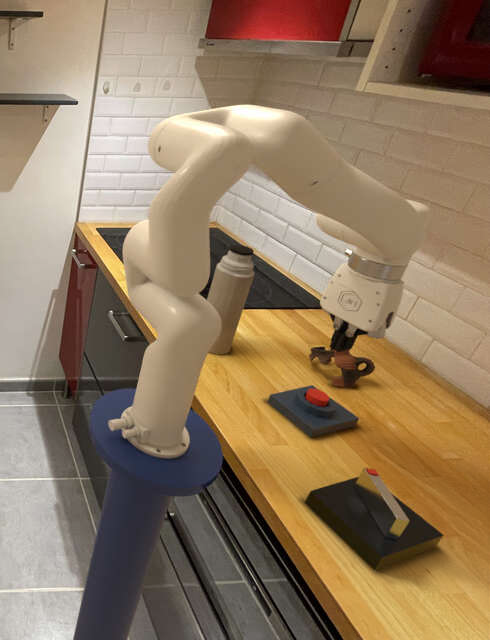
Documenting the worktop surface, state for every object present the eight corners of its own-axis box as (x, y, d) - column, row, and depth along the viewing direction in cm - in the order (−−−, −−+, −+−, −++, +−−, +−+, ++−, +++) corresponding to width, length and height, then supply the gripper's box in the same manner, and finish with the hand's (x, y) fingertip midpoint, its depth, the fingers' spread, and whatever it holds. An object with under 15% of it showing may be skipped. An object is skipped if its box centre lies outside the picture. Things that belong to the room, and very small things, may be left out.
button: (317, 408, 91) (320, 402, 91) (300, 396, 95) (303, 390, 94) (330, 405, 92) (333, 399, 92) (314, 393, 95) (316, 387, 95)
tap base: (374, 569, 66) (382, 557, 65) (304, 502, 76) (310, 490, 75) (435, 547, 70) (444, 535, 68) (360, 485, 79) (367, 473, 78)
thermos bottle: (201, 331, 122) (227, 238, 110) (233, 344, 117) (265, 247, 105) (191, 344, 116) (218, 247, 105) (224, 358, 111) (257, 258, 100)
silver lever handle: (397, 540, 68) (410, 520, 66) (384, 537, 68) (397, 517, 66) (364, 488, 75) (375, 468, 74) (353, 486, 76) (364, 466, 74)
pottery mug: (319, 387, 103) (313, 351, 104) (305, 379, 112) (300, 345, 113) (385, 388, 98) (379, 350, 99) (365, 379, 107) (360, 345, 108)
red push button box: (310, 437, 89) (317, 422, 87) (267, 402, 98) (272, 387, 96) (355, 426, 92) (362, 411, 90) (309, 392, 101) (315, 378, 99)
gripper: (319, 251, 86) (289, 329, 94) (408, 288, 73) (365, 377, 80) (348, 247, 88) (316, 324, 95) (440, 283, 75) (395, 370, 82)
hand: (339, 348), depth 88 cm, fingers closed
